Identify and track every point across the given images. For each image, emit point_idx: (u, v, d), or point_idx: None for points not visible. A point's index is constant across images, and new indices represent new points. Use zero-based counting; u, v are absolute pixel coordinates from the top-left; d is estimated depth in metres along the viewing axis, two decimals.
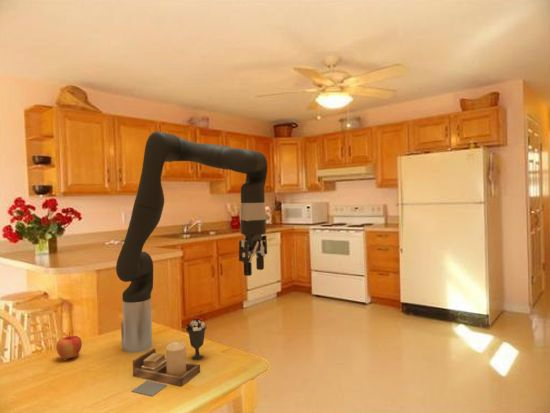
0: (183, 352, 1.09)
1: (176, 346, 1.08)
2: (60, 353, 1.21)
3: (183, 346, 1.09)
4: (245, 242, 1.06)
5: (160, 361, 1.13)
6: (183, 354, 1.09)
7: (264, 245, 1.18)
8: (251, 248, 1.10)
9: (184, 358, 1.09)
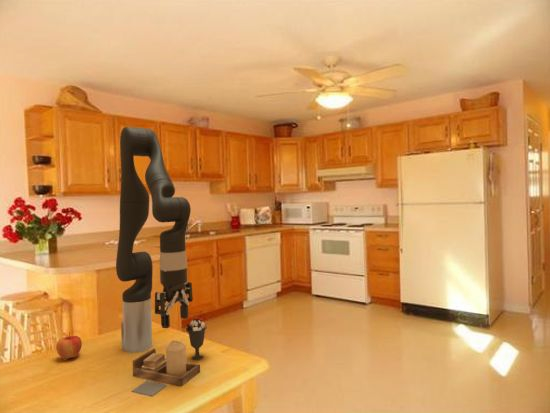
0: (183, 352, 1.09)
1: (176, 346, 1.08)
2: (60, 353, 1.21)
3: (183, 346, 1.09)
4: (160, 295, 1.03)
5: (160, 361, 1.13)
6: (183, 354, 1.09)
7: (189, 292, 1.14)
8: (170, 299, 1.06)
9: (184, 358, 1.09)
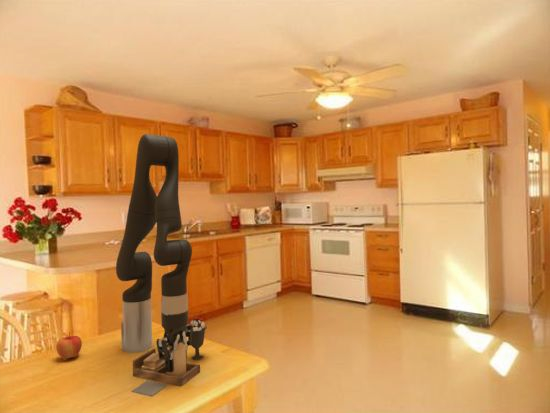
0: (183, 352, 1.09)
1: None
2: (60, 353, 1.21)
3: (183, 346, 1.09)
4: (162, 343, 1.03)
5: (160, 361, 1.13)
6: (183, 354, 1.09)
7: (188, 335, 1.14)
8: (172, 343, 1.07)
9: (184, 358, 1.09)
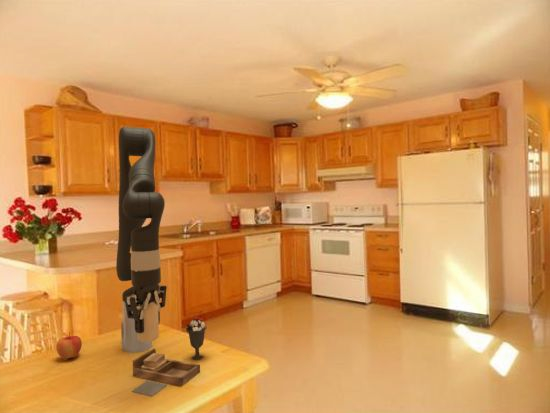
0: (155, 312, 1.01)
1: (147, 306, 1.01)
2: (60, 353, 1.21)
3: (155, 306, 1.02)
4: (130, 300, 0.96)
5: (160, 361, 1.13)
6: (155, 314, 1.01)
7: (162, 296, 1.07)
8: (142, 302, 1.00)
9: (156, 319, 1.02)
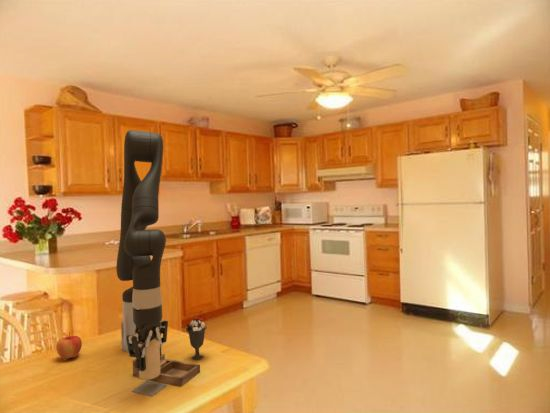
0: (156, 349, 1.02)
1: (149, 343, 1.01)
2: (60, 353, 1.21)
3: (157, 343, 1.02)
4: (132, 339, 0.96)
5: (160, 361, 1.13)
6: (156, 351, 1.02)
7: (163, 332, 1.07)
8: (143, 340, 1.00)
9: (158, 356, 1.02)
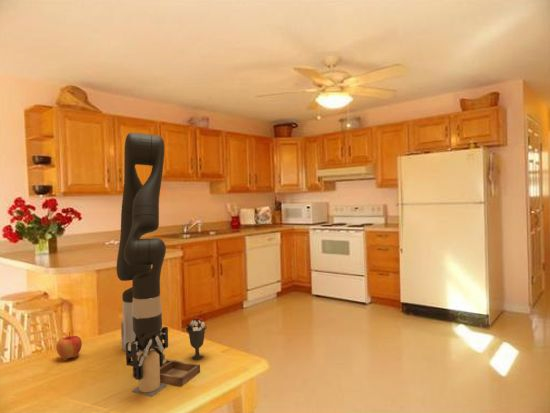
0: (156, 362, 1.02)
1: (148, 356, 1.01)
2: (60, 353, 1.21)
3: (156, 356, 1.02)
4: (131, 346, 0.96)
5: None
6: (156, 364, 1.02)
7: (164, 338, 1.08)
8: (142, 348, 1.00)
9: (157, 369, 1.02)
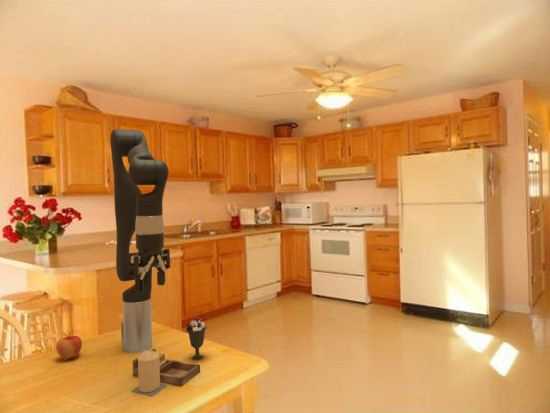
0: (156, 362, 1.02)
1: (148, 356, 1.01)
2: (60, 353, 1.21)
3: (156, 356, 1.03)
4: (134, 258, 1.00)
5: (160, 361, 1.13)
6: (156, 364, 1.02)
7: (166, 259, 1.12)
8: (144, 264, 1.04)
9: (157, 368, 1.02)
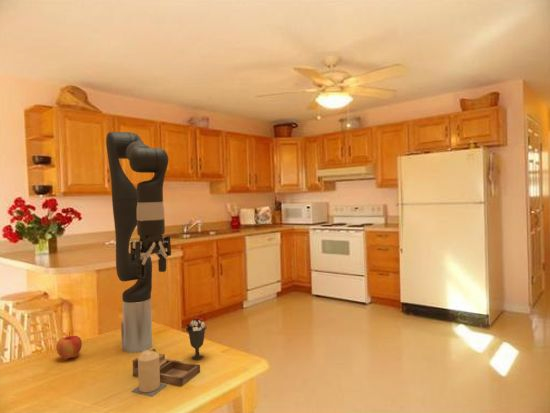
0: (156, 362, 1.02)
1: (148, 356, 1.01)
2: (60, 353, 1.21)
3: (156, 356, 1.02)
4: (136, 243, 1.02)
5: (160, 361, 1.13)
6: (156, 364, 1.02)
7: (167, 246, 1.14)
8: (146, 249, 1.06)
9: (157, 369, 1.02)
